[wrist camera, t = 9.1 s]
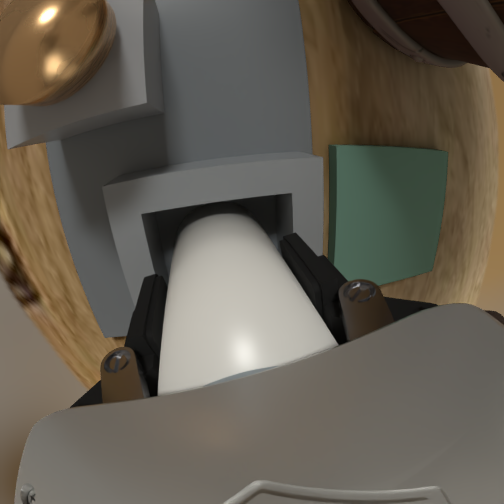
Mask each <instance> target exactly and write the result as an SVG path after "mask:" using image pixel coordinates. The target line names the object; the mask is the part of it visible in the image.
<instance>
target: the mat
mask: <svg viewBox="0 0 504 504" xmlns="http://www.w3.org/2000/svg"><path fill="white" fill-rule="evenodd" d="M447 167H448V152H446V151H442V150H435V149H425V148H413V147H399V146H380V145H329V242H328V260H329V261H330V262H331V263H332V264H333V265H334V266H335V267H336V268H337V269H338V270H339V272H340V273H341V274H342V275H343V276H344V277H345V278H346V279H347V280H348V281H352V280H356V279H365V280H369V281H372V282H374V283H376V284H377V285H378V286H379V285H383V284H387V283H390V282H394V281H398V280H402V279H405V278H409V277H413V276H416V275H420V274H423V273H427V272H430V271H432V269H433V265H434V260H435V256H436V251H437V246H438V241H439V235H440V229H441V223H442V216H443V209H444V201H445V192H446V181H447Z"/></svg>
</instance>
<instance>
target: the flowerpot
mask: <svg viewBox="0 0 504 504" xmlns="http://www.w3.org/2000/svg"><path fill="white" fill-rule="evenodd" d="M348 1H349V3H350V4H351V6H352V7H353V9H354V10H355V11H356V13H357V14H358V15H359V16H360V17H361V19H362V20H363V21H364V22H365V23H366V24H367V25H368V26H370V27H374V28H373V32H374V33H375V34H376V35H377V36H379V37H380V38H381V39H383V40H384V41H385V42H387V43H388V44H390V45H391V46H392V47H394V48H395V49H397V50H400V51H401V52H403V53H404V54H406V55H408V56H409V57H411V58H413V59H414V60H415V61H416V62H423V63H426V64H431V65H436V66H441V67H449V68H455V67H460V66H462V65H464V64H466V63H471V64H475V65H479V66H483V67H488V68H490V69H491V70H492V71H493V72H494V73H495V74H496V75H497V76H498V77H499V78H500V79H501V80H502V81H504V0H348Z"/></svg>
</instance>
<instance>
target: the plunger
mask: <svg viewBox="0 0 504 504" xmlns="http://www.w3.org/2000/svg"><path fill="white" fill-rule="evenodd" d="M115 35H116V17H115V13H114V11H113V9H112V7H111V6H110V4H109V3H108V2H107V0H13V1H12V2H11V3H10V4H9V6H8V7H7V8H6V9H5V10H4V11H3V13H2V14H1V15H0V104H3V105H24V106H49V105H53V104H56V103H59V102H61V101H63V100H66V99H67V98H69V97H71V96H72V95H74V94H75V93H76V92H78V91H79V90H80V89H82V88H83V87H84V86H85V85H86V84H87V83H88V82H89V81H90V80H91V79H92V78H93V77H94V76H95V74H96V73H97V72H98V71H99V69H100V68H101V66H102V65H103V64H104V62H105V60H106V58H107V57H108V55H109V52H110V50H111V48H112V45H113V42H114V39H115Z"/></svg>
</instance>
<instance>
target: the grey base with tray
mask: <svg viewBox="0 0 504 504" xmlns="http://www.w3.org/2000/svg"><path fill="white" fill-rule="evenodd" d="M107 2H108V3H109V4H110V6H111V7H112V9H113V11H114V13H115V17H116V35H115V39H114V42H113V45H112V48H111V50H110V52H109V55H108V57H107V58H106V60H105V62H104V64H103V65H102V66H101V68H100V69H99V71H98V72H97V73H96V74H95V76H94V77H93V78H92V79H91V80H90V81H89V82H88V83H87V84H86V85H85V86H84V87H83V88H82V89H80V90H79V91H78V92H76V93H75V94H74V95H72V96H71V97H69V98H67V99H66V100H63V101H61V102H59V103H56V104H53V105H49V106H24V105H4V108H5V127H6V138H7V147H8V149H12V148H17V147H22V146H27V145H33V144H38V143H45V142H46V147H47V155H48V161H49V167H50V173H51V178H52V183H53V188H54V193H55V197H56V202H57V206H58V210H59V214H60V218H61V222H62V226H63V229H64V233H65V236H66V239H67V243H68V246H69V249H70V252H71V255H72V258H73V261H74V264H75V267H76V270H77V273H78V276H79V278H80V281H81V284H82V286H83V289H84V291H85V294H86V296H87V299H88V301H89V304H90V306H91V308H92V311H93V313H94V315H95V318H96V320H97V322H98V324H99V326H100V329H101V331H102V333H103V335H104V337H105V338H108V337H119V336H127V333H128V329H129V325H130V321H131V317H132V314H133V311H134V310H135V307H136V304H137V300H138V296H139V293H140V289H141V286H142V283H143V279H144V277H146V276H149V275H153V274H158V276H161V275H162V276H163V278H164V280H165V282H166V284H167V287H168V283H169V276H170V269H171V263H172V256H173V250H174V244H175V239H176V234H177V231H178V228H179V226H180V224H181V223H182V221H183V220H184V219H185V217H186V216H187V215H188V214H189V213H191V212H192V211H193V210H195V209H196V208H198V207H200V206H202V205H205V204H207V203H213V202H220V201H221V202H231V203H234V204H238V205H240V206H242V207H244V208H245V209H247V210H249V211H250V212H251V213H252V214H253V215H254V216H255V217H256V219H257V220H258V222H259V223H260V225H261V226H262V228H263V229H264V231H265V232H266V234H267V235H268V237H269V238H270V240H271V241H272V243H273V244H274V246H275V247H276V249H277V250H278V252H279V253H280V255H281V256H282V253H281V248H280V243H279V241H280V240H283V236H285V235H289V234H292V233H295V232H296V233H297V234H298V235H299V236H300V237H301V238H302V239H303V241H304V242H305V243H306V244H307V245H308V246H309V247H310V248H311V249H312V250H313V252H314V253H315V254H316V255H317V256H321V255H322V254H323V205H324V192H323V157H320V156H316V155H312V134H311V116H310V101H309V88H308V77H307V66H306V56H305V47H304V39H303V31H302V23H301V16H300V9H299V2H298V0H107Z"/></svg>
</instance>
